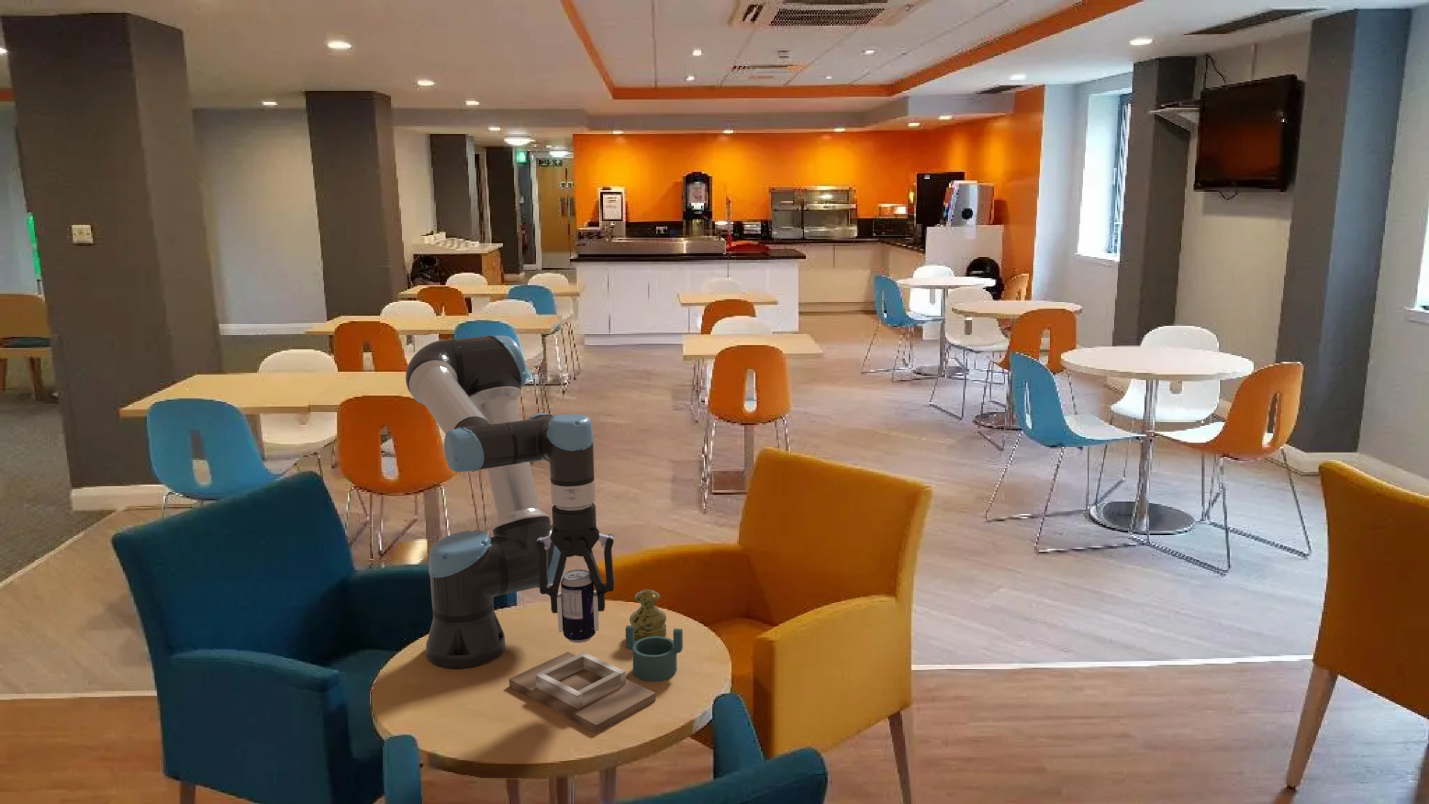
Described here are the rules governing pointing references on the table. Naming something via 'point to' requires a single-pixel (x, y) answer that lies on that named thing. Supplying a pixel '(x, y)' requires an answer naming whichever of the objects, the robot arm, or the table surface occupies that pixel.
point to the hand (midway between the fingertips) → (579, 628)
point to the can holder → (583, 690)
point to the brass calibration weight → (648, 616)
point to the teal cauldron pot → (654, 655)
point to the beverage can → (577, 605)
